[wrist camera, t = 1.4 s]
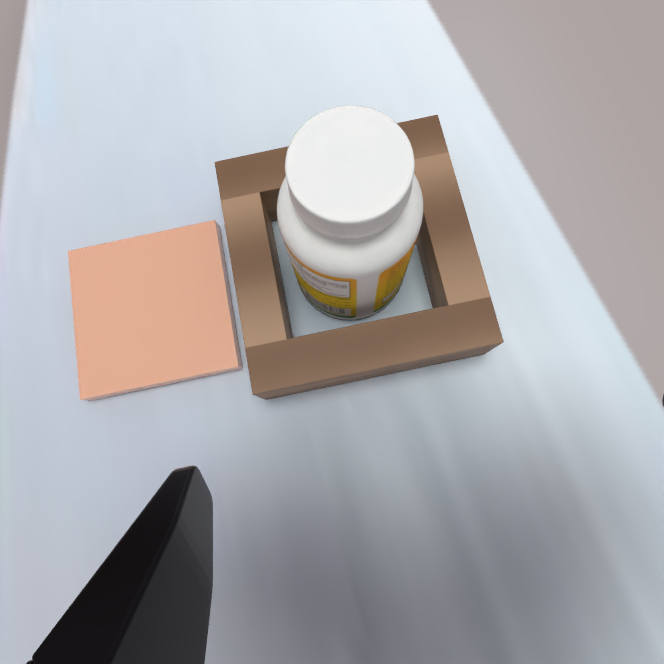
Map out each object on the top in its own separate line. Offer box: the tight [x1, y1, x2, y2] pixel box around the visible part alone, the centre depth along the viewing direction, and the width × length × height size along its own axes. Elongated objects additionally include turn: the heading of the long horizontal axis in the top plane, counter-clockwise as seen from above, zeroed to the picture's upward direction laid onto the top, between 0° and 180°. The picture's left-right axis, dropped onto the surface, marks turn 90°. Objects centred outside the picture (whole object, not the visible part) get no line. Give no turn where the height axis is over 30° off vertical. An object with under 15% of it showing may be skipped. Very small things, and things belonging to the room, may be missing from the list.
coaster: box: [68, 220, 242, 401], centre depth 23 cm, size 8×8×1 cm
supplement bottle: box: [277, 106, 423, 320], centre depth 19 cm, size 5×5×10 cm
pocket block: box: [215, 115, 503, 400], centre depth 22 cm, size 11×11×3 cm
